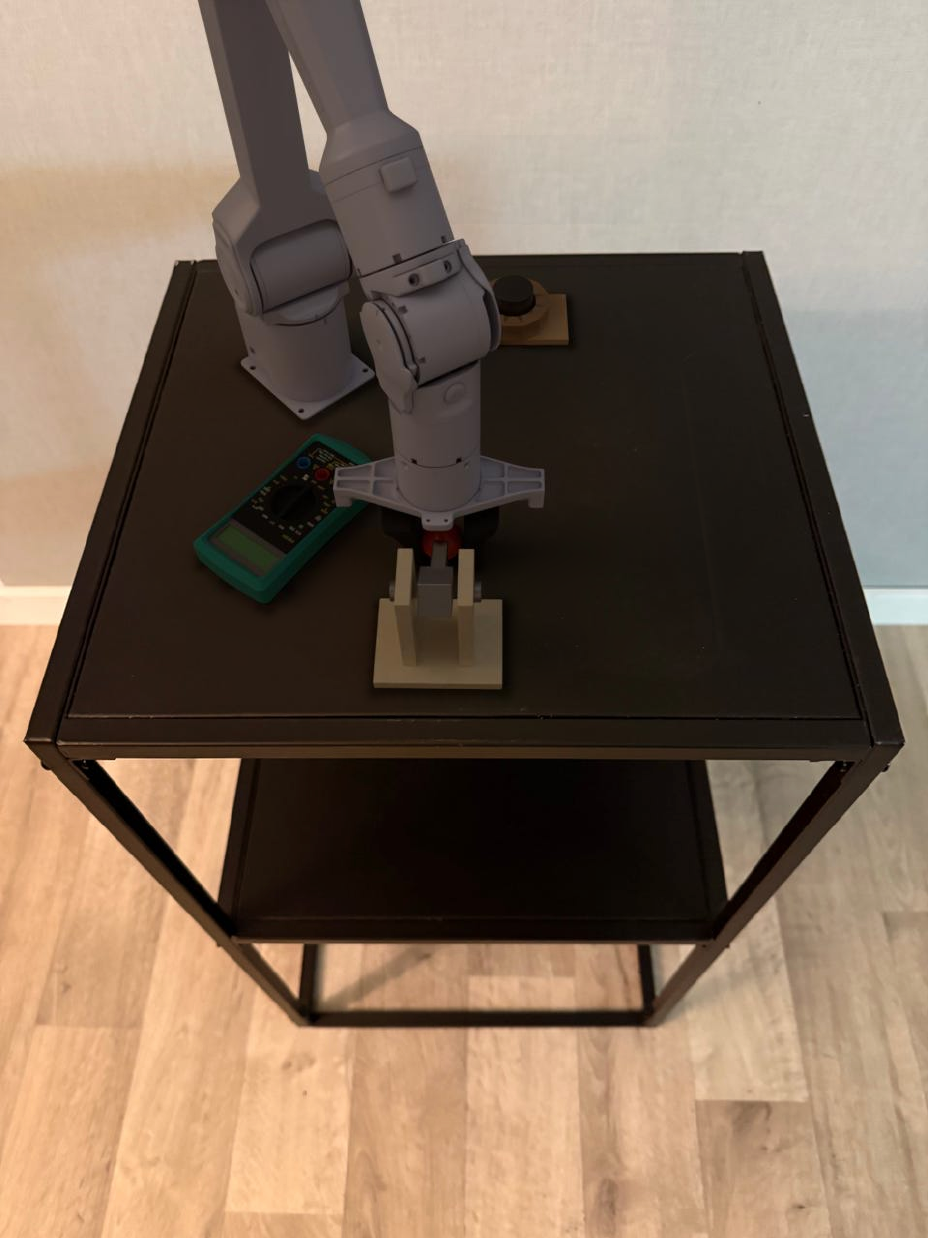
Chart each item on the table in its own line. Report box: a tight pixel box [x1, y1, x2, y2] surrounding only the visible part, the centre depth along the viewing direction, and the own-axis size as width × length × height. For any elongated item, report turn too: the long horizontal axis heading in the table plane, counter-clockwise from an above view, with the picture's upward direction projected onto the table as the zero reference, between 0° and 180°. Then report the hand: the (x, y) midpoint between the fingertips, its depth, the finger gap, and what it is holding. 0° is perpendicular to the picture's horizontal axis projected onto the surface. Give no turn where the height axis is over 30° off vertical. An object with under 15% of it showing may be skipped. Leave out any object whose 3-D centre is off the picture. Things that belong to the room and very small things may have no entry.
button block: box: [488, 277, 570, 346], centre depth 85 cm, size 10×6×2 cm, turn 89°
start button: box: [493, 274, 534, 317], centre depth 83 cm, size 4×4×2 cm
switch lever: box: [416, 520, 464, 617], centre depth 66 cm, size 12×3×3 cm
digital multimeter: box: [192, 432, 374, 604], centre depth 73 cm, size 7×15×3 cm, turn 143°
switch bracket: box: [372, 548, 503, 690], centre depth 64 cm, size 7×9×9 cm
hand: (443, 556), depth 73 cm, fingers closed on switch lever, 3 cm apart
